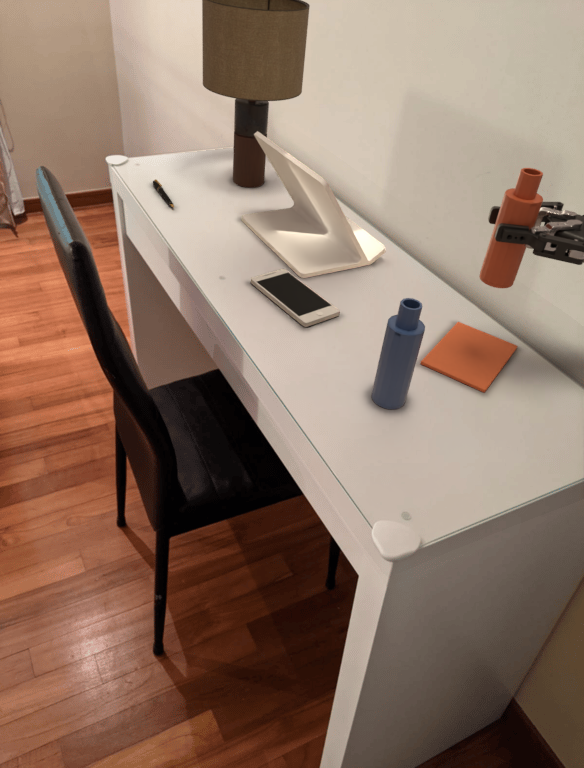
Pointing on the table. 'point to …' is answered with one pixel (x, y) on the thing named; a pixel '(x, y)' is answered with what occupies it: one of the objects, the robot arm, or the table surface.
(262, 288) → the smartphone
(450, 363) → the terracotta mat
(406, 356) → the blue bottle
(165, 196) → the fountain pen
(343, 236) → the tablet stand
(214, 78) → the lamp
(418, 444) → the table surface
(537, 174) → the terracotta bottle
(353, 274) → the table surface
